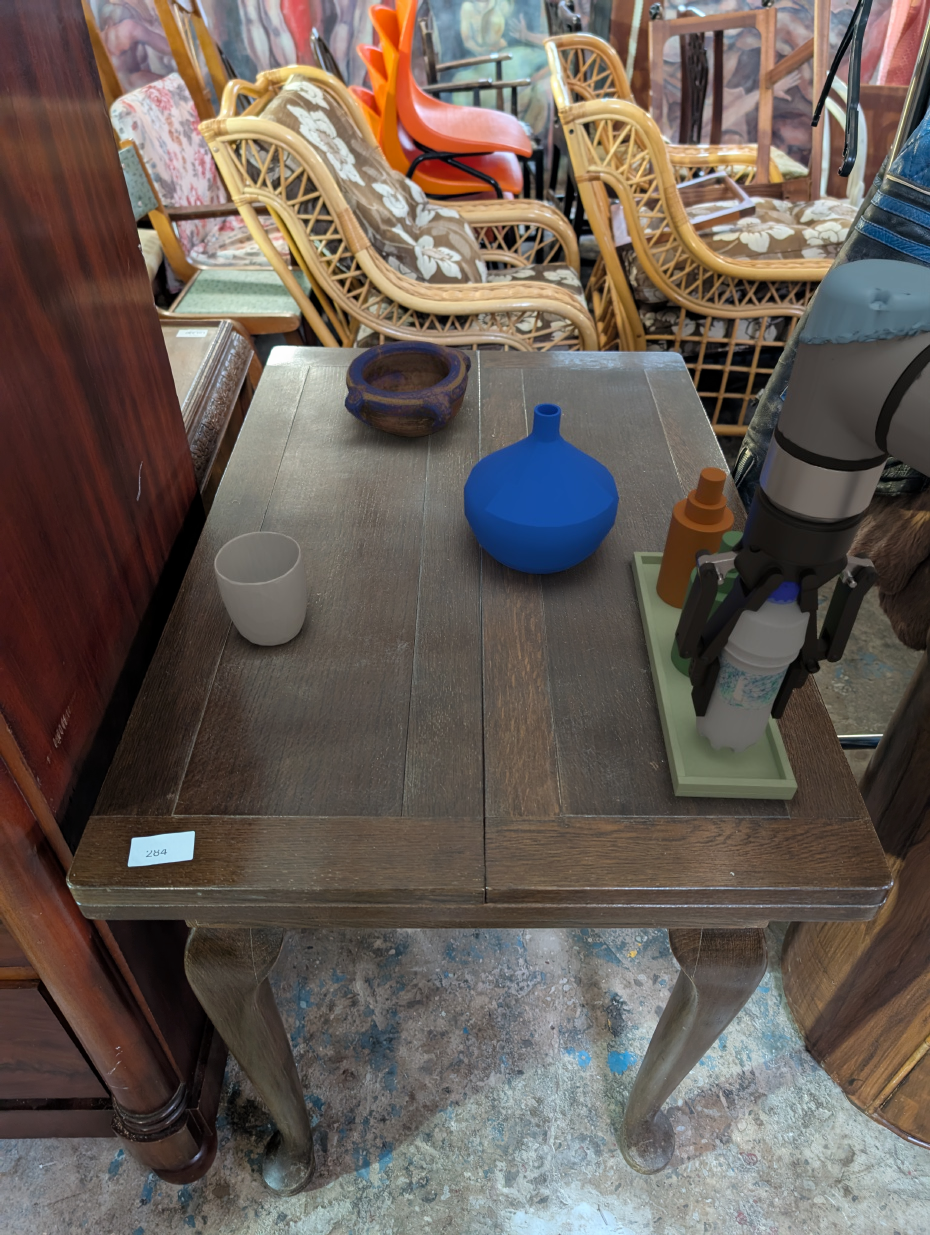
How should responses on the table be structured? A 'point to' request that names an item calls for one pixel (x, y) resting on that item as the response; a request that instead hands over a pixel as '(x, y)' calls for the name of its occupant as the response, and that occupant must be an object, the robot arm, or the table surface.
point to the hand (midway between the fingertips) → (735, 706)
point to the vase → (540, 500)
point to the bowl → (407, 386)
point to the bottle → (754, 670)
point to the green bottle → (726, 546)
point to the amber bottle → (693, 534)
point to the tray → (688, 753)
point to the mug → (263, 586)
